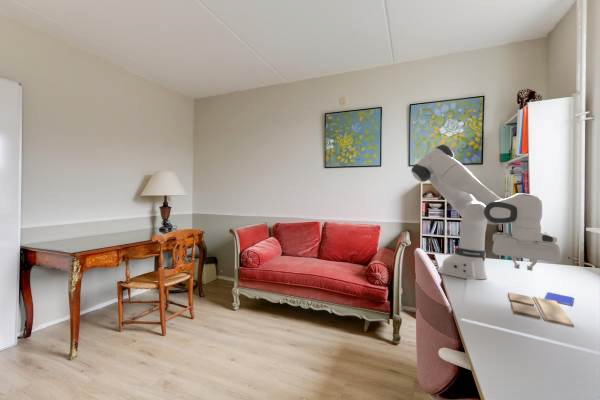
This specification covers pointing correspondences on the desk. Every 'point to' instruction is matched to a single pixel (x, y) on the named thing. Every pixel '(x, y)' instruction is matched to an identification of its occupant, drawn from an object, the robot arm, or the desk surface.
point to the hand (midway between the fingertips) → (523, 269)
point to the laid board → (552, 311)
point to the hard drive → (560, 298)
